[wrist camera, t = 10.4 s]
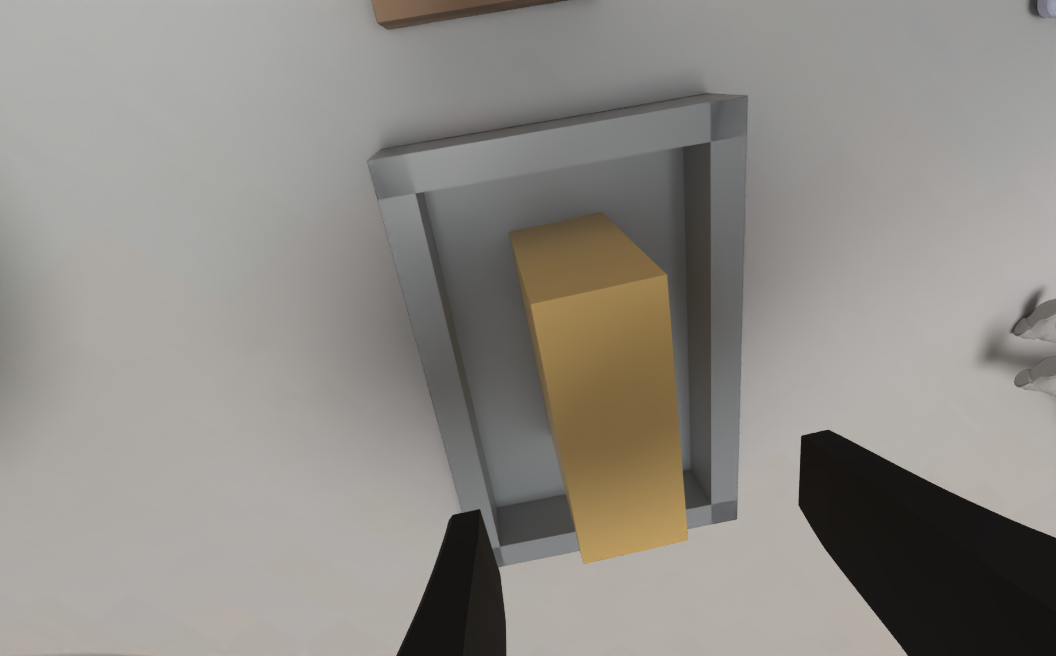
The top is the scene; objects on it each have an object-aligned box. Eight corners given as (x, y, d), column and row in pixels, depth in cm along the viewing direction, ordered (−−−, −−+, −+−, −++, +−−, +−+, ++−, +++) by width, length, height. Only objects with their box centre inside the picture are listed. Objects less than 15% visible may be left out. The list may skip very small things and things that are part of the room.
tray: (708, 93, 16) (747, 95, 14) (709, 475, 23) (736, 519, 20) (380, 149, 16) (367, 161, 14) (476, 521, 22) (478, 571, 20)
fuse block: (601, 211, 17) (666, 274, 12) (628, 417, 20) (688, 540, 15) (508, 232, 17) (530, 304, 11) (551, 435, 20) (583, 564, 15)
